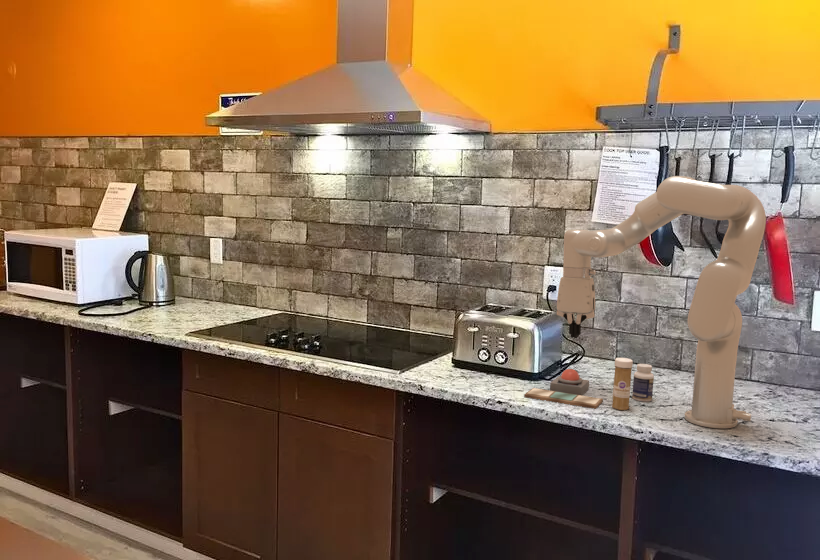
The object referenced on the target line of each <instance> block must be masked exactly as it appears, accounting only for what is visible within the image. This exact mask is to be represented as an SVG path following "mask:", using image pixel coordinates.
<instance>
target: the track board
mask: <svg viewBox="0 0 820 560" xmlns="http://www.w3.org/2000/svg"><path fill="white" fill-rule="evenodd" d="M523 396H524V397H523V398H527V399H531V400H538V399H540V400H539V401H544V400H546V401H545V402H550V401H552V402H551V403H556V402H558V403H557V404H562V403H564V405H569V404H570V406H575V405H576V407H581V406H582V407H583V408H587V409H593V408H594V410H597V409H598V408H599V407H600V405H601V404H602V403H603V402H604V399H603V398H601V397H594V396H588V395H576V394H570V393H563V392H557V391H550V389H542V388H537V387H532V388H530V390H528V391H527V392H526V393H524V394H523ZM596 408H597V409H596Z"/></svg>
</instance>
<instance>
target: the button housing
mask: <svg viewBox="0 0 820 560" xmlns="http://www.w3.org/2000/svg"><path fill="white" fill-rule="evenodd" d="M559 376H560V375H558V376H557V377H555V378H554V379H553V380H552V381H551V382H549V390H550V391H557V392H563V393H570V394H576V395H582V396H584V394H585V393H587V392H588V390H589V389H590V380H589V379H583V378H582V382H581V383H578V384H577V385H571V384H564V383H562V382H560V381H558V377H559Z"/></svg>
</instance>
